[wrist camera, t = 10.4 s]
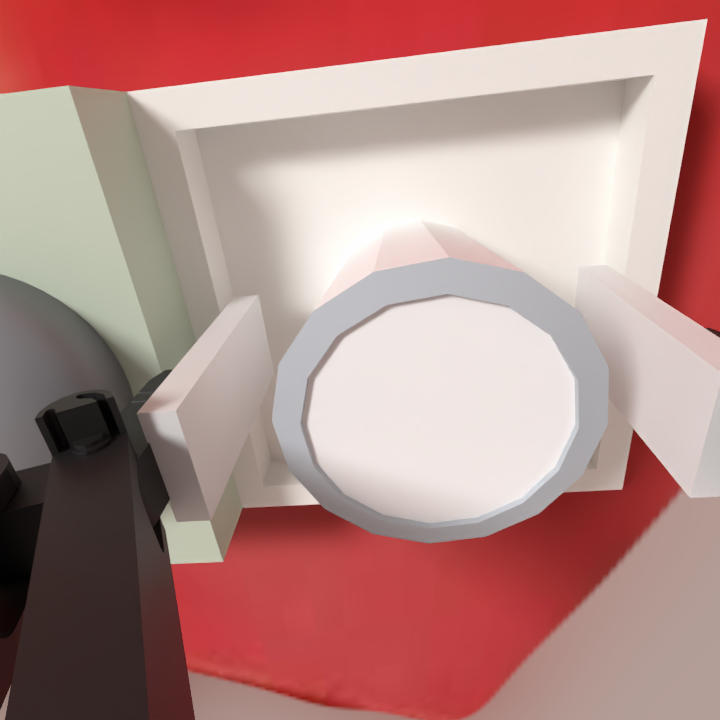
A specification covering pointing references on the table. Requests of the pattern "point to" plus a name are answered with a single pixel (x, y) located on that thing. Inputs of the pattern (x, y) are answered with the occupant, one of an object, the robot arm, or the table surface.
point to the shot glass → (439, 390)
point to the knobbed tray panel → (317, 212)
